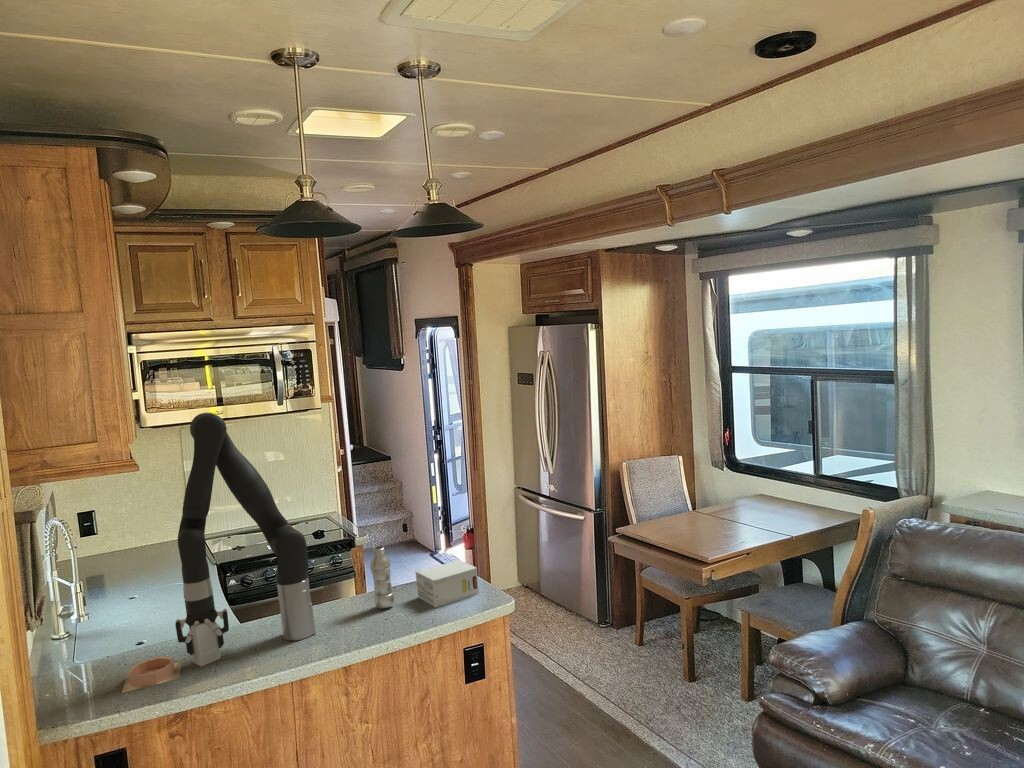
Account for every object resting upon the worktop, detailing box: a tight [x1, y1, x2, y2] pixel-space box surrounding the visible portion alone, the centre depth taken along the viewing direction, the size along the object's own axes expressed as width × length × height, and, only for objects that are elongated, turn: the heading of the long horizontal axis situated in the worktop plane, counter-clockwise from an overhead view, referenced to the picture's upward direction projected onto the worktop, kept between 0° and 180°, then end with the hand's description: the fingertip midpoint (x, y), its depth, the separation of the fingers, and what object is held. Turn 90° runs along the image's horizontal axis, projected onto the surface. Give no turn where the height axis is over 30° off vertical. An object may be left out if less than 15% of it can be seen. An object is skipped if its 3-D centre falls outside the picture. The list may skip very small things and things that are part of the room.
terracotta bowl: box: [128, 656, 175, 687], centre depth 197 cm, size 11×11×3 cm
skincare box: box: [188, 620, 222, 667], centre depth 204 cm, size 6×4×12 cm
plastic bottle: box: [369, 545, 396, 610], centre depth 233 cm, size 6×7×20 cm
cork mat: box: [121, 661, 182, 693], centre depth 197 cm, size 14×12×1 cm
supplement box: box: [415, 559, 480, 608], centre depth 238 cm, size 17×13×9 cm
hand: (206, 650), depth 204 cm, fingers closed on skincare box, 7 cm apart
